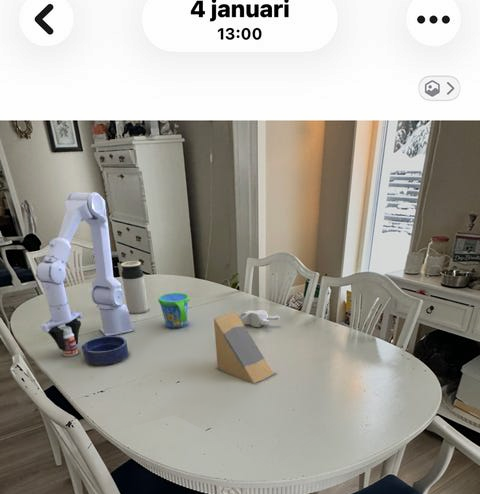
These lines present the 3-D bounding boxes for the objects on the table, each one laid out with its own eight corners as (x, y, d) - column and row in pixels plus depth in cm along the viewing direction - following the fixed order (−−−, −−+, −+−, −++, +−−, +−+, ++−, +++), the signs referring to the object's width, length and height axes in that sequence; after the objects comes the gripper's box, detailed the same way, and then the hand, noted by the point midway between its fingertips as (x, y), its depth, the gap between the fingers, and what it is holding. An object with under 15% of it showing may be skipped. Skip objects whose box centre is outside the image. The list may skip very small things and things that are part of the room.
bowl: (121, 346, 153) (118, 333, 151) (134, 359, 143) (132, 345, 141) (80, 355, 148) (77, 341, 146) (91, 370, 138) (87, 355, 136)
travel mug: (152, 309, 186) (145, 262, 176) (138, 315, 180) (131, 266, 170) (137, 306, 189) (130, 260, 180) (123, 312, 184) (115, 264, 174)
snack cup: (197, 329, 164) (194, 300, 159) (168, 334, 161) (164, 305, 155) (184, 316, 176) (181, 289, 171) (157, 321, 173) (153, 293, 168)
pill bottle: (75, 356, 148) (69, 330, 143) (60, 356, 148) (54, 331, 143) (80, 350, 152) (74, 325, 147) (65, 351, 152) (59, 325, 147)
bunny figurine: (251, 306, 171) (282, 309, 161) (252, 320, 173) (283, 324, 163) (232, 313, 165) (263, 316, 155) (234, 327, 168) (265, 331, 158)
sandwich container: (254, 384, 126) (252, 330, 118) (216, 368, 136) (213, 318, 128) (275, 373, 131) (275, 321, 123) (237, 359, 141) (235, 310, 133)
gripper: (67, 296, 148) (77, 337, 155) (29, 309, 137) (42, 352, 145) (83, 298, 145) (92, 340, 152) (45, 312, 134) (57, 356, 142)
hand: (69, 346), depth 148 cm, fingers closed on pill bottle, 5 cm apart
